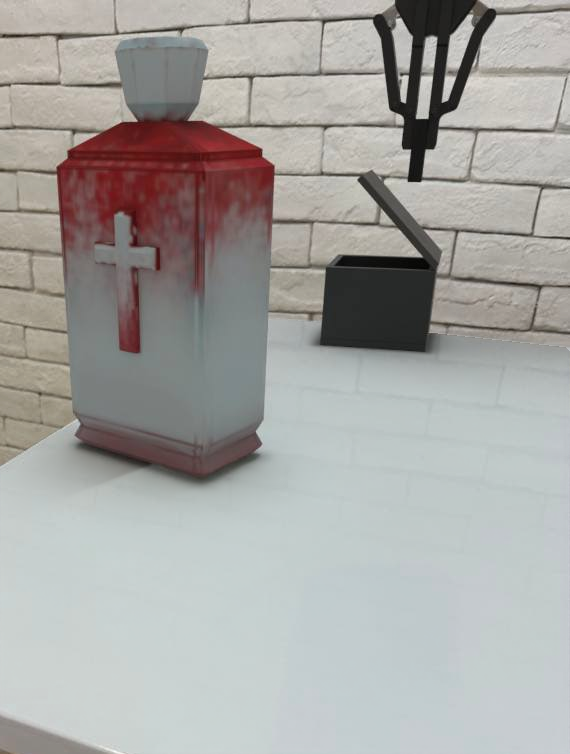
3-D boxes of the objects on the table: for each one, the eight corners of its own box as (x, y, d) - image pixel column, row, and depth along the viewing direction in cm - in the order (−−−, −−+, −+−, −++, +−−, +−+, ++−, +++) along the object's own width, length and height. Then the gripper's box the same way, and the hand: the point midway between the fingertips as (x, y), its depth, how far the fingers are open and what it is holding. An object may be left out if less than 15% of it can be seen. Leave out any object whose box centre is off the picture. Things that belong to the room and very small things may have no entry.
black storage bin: (319, 344, 102) (325, 266, 98) (332, 326, 111) (338, 254, 106) (425, 351, 98) (435, 271, 94) (429, 332, 107) (439, 257, 103)
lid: (356, 179, 92) (362, 174, 92) (366, 174, 101) (372, 169, 101) (433, 269, 94) (439, 264, 93) (437, 256, 103) (442, 251, 102)
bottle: (64, 448, 71) (34, 42, 57) (142, 417, 78) (132, 49, 64) (197, 489, 62) (199, 25, 49) (271, 451, 69) (291, 36, 56)
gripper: (509, -66, 86) (473, 179, 97) (382, -56, 90) (361, 178, 100) (512, -80, 80) (473, 184, 90) (375, -70, 83) (354, 183, 94)
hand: (414, 181), depth 95 cm, fingers closed
